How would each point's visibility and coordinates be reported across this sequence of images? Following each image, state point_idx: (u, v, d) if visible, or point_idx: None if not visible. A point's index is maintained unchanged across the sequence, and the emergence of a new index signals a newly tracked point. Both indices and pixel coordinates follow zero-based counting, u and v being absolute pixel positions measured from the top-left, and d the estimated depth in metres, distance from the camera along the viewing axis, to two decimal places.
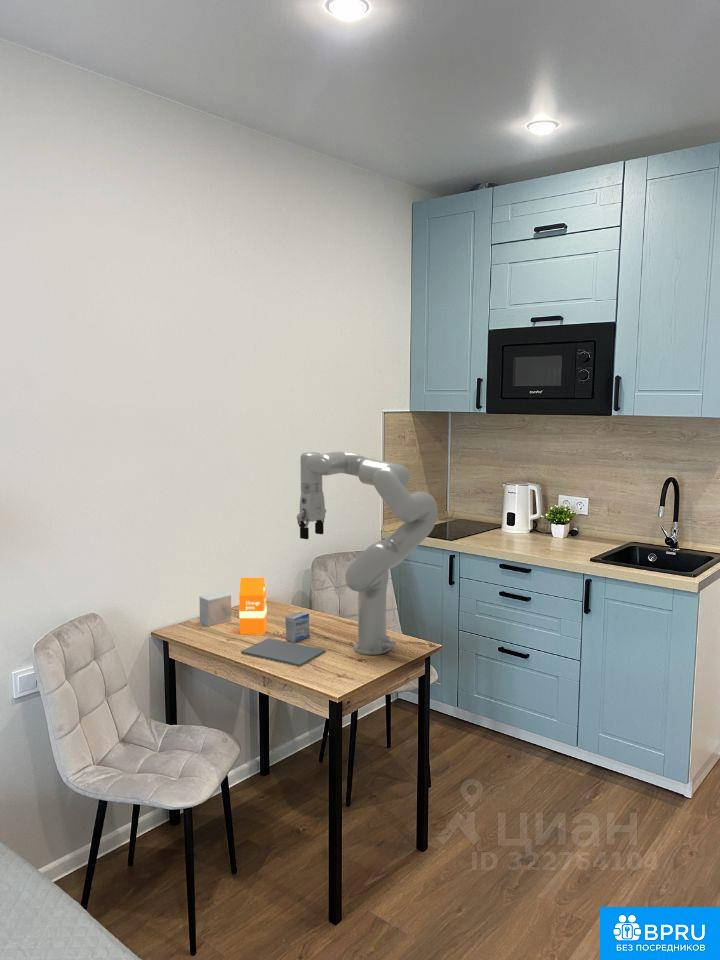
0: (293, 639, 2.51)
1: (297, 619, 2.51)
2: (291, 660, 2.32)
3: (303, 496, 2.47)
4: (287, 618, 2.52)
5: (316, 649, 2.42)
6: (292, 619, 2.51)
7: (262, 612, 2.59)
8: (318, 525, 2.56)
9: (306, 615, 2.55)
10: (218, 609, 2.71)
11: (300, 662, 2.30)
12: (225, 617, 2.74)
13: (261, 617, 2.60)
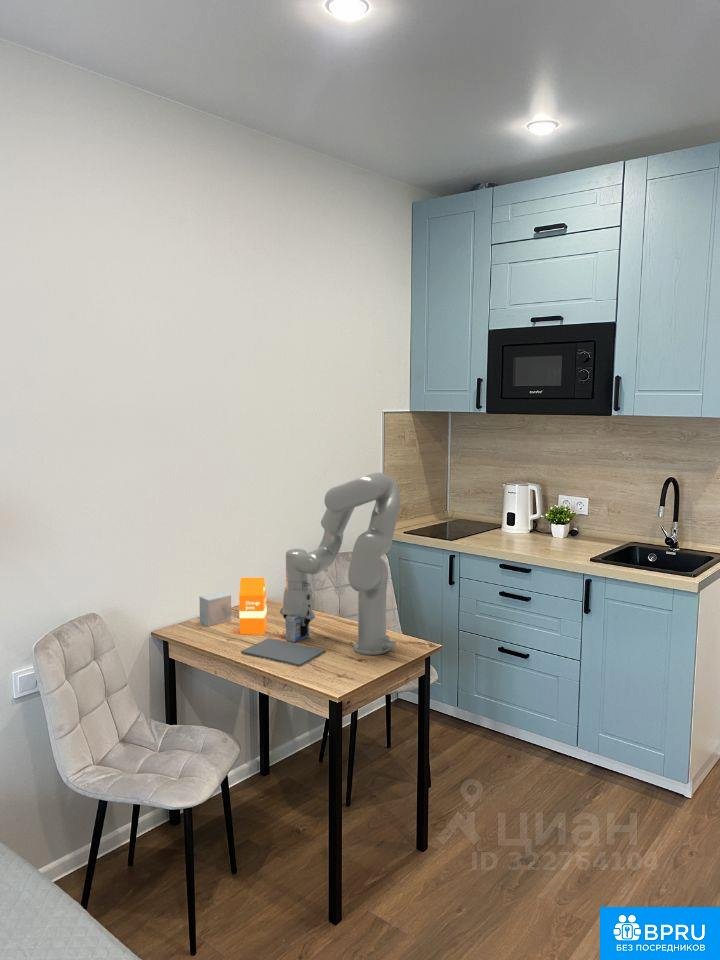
0: (293, 639, 2.51)
1: (297, 619, 2.51)
2: (291, 660, 2.32)
3: (307, 593, 2.51)
4: (287, 618, 2.52)
5: (316, 649, 2.42)
6: (292, 619, 2.51)
7: (262, 612, 2.59)
8: None
9: None
10: (218, 609, 2.71)
11: (300, 662, 2.30)
12: (225, 618, 2.74)
13: (261, 617, 2.60)
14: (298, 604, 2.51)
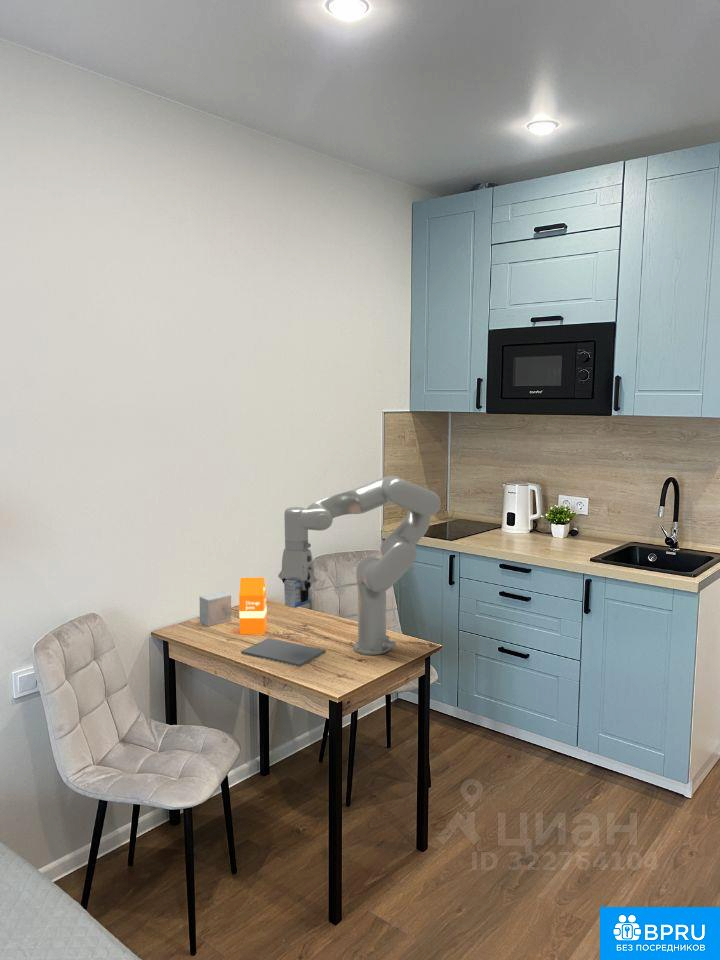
0: (293, 605, 2.32)
1: (296, 583, 2.32)
2: (291, 660, 2.32)
3: (307, 554, 2.32)
4: (286, 582, 2.33)
5: (316, 649, 2.42)
6: (291, 583, 2.32)
7: (262, 612, 2.59)
8: None
9: None
10: (218, 609, 2.71)
11: (300, 662, 2.30)
12: (225, 618, 2.74)
13: (261, 617, 2.60)
14: (298, 566, 2.32)
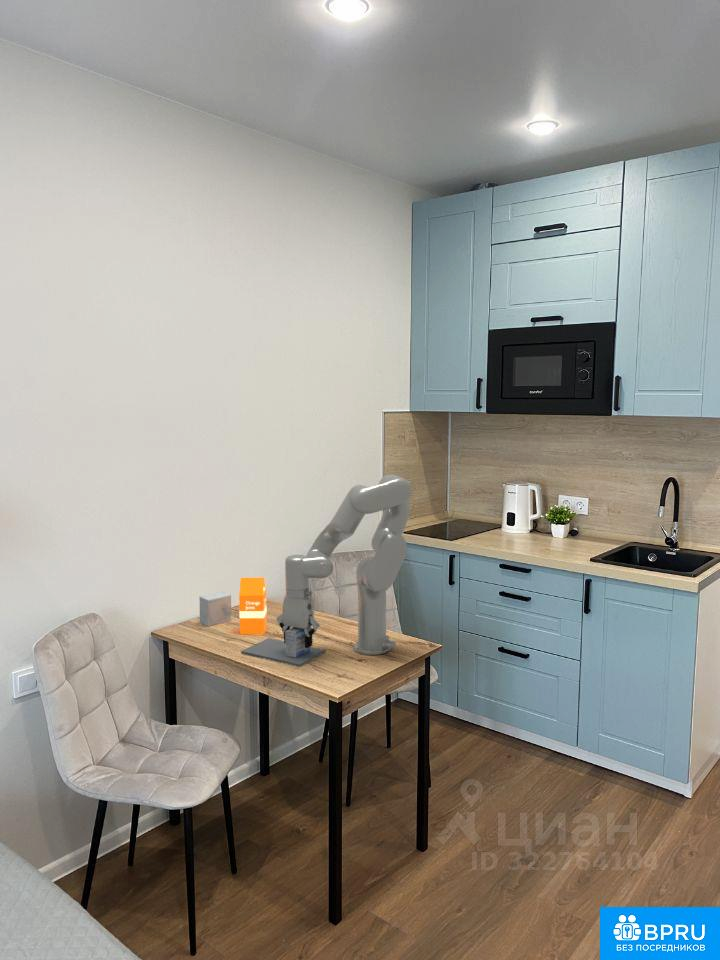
0: (294, 655, 2.34)
1: (298, 633, 2.34)
2: (291, 660, 2.32)
3: (308, 602, 2.34)
4: (287, 632, 2.35)
5: (316, 649, 2.42)
6: (292, 633, 2.34)
7: (262, 612, 2.59)
8: None
9: (307, 628, 2.38)
10: (218, 609, 2.71)
11: (300, 662, 2.30)
12: (225, 618, 2.74)
13: (261, 617, 2.60)
14: (298, 614, 2.33)
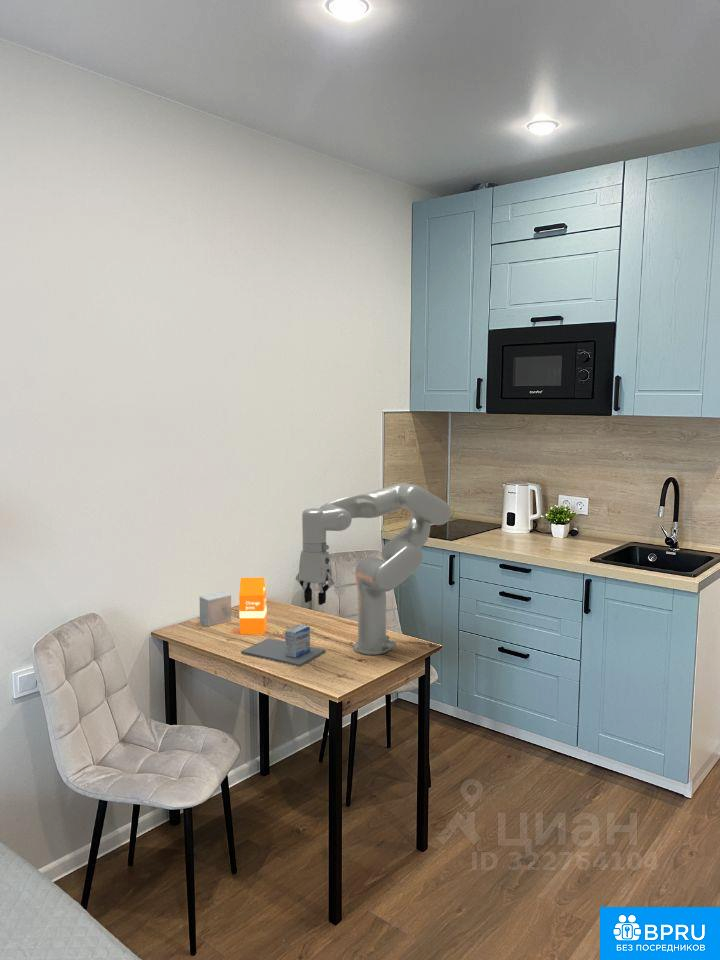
0: (294, 655, 2.34)
1: (298, 633, 2.34)
2: (291, 660, 2.32)
3: (325, 556, 2.28)
4: (287, 632, 2.35)
5: (316, 649, 2.42)
6: (292, 633, 2.34)
7: (262, 612, 2.59)
8: (309, 592, 2.33)
9: (307, 628, 2.38)
10: (218, 609, 2.71)
11: (300, 662, 2.30)
12: (225, 618, 2.74)
13: (261, 617, 2.60)
14: (316, 568, 2.28)
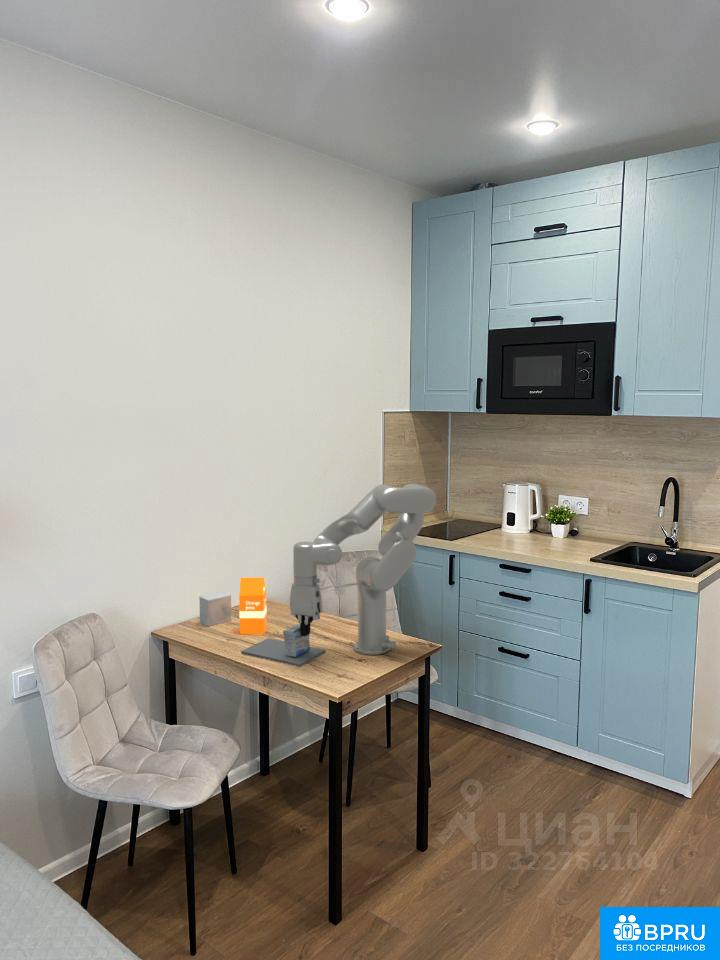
0: (294, 654, 2.34)
1: (296, 631, 2.35)
2: (291, 660, 2.32)
3: (316, 589, 2.31)
4: (285, 631, 2.35)
5: (316, 649, 2.42)
6: (291, 632, 2.34)
7: (262, 612, 2.59)
8: None
9: None
10: (218, 609, 2.71)
11: (300, 662, 2.30)
12: (225, 618, 2.74)
13: (261, 617, 2.60)
14: (306, 601, 2.31)
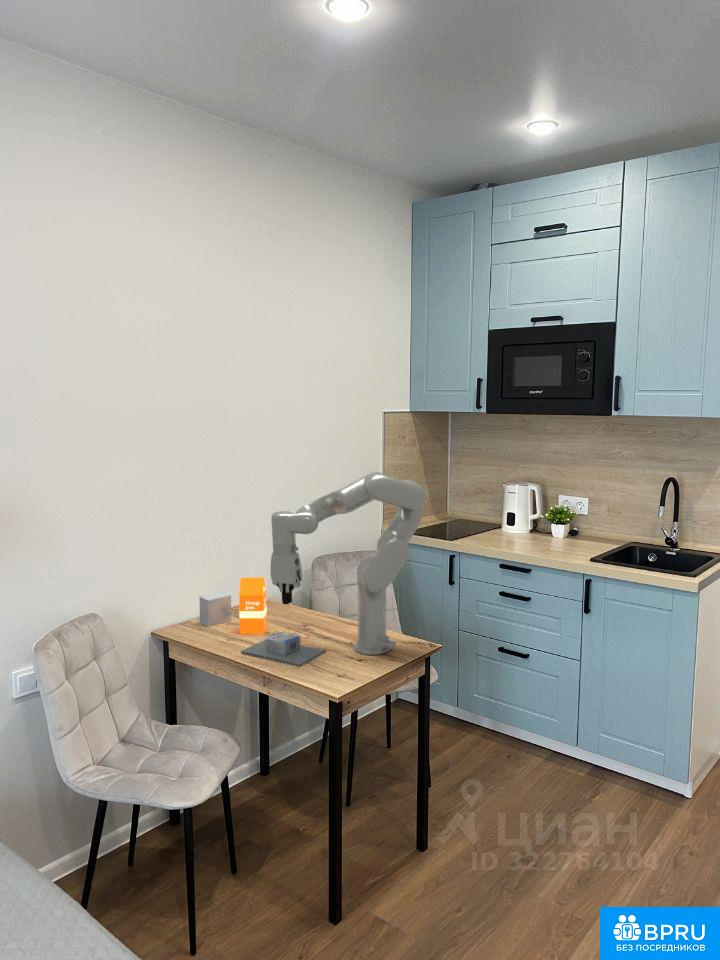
0: (283, 643, 2.36)
1: (269, 637, 2.41)
2: (291, 660, 2.32)
3: (295, 557, 2.34)
4: (266, 647, 2.41)
5: (316, 649, 2.42)
6: (266, 641, 2.40)
7: (262, 612, 2.59)
8: None
9: (278, 633, 2.46)
10: (218, 609, 2.71)
11: (300, 662, 2.30)
12: (225, 618, 2.74)
13: (261, 617, 2.60)
14: (286, 570, 2.34)
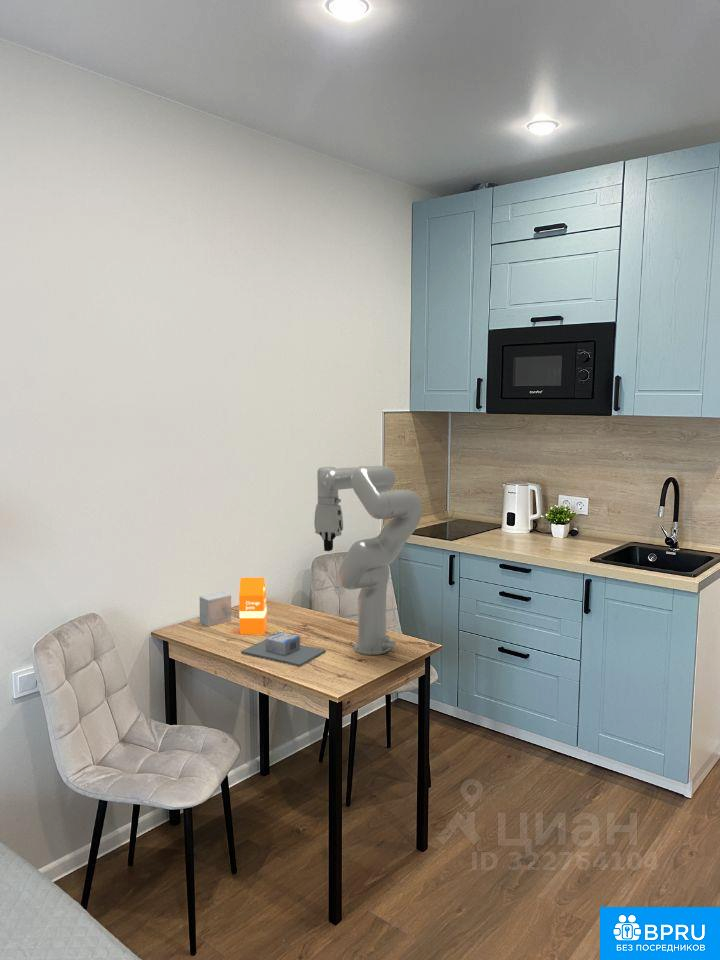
0: (283, 643, 2.36)
1: (269, 637, 2.41)
2: (291, 660, 2.32)
3: (338, 508, 2.60)
4: (266, 647, 2.41)
5: (316, 649, 2.42)
6: (266, 641, 2.40)
7: (262, 612, 2.59)
8: None
9: (278, 633, 2.46)
10: (218, 609, 2.71)
11: (300, 662, 2.30)
12: (225, 618, 2.74)
13: (261, 617, 2.60)
14: (329, 519, 2.60)
